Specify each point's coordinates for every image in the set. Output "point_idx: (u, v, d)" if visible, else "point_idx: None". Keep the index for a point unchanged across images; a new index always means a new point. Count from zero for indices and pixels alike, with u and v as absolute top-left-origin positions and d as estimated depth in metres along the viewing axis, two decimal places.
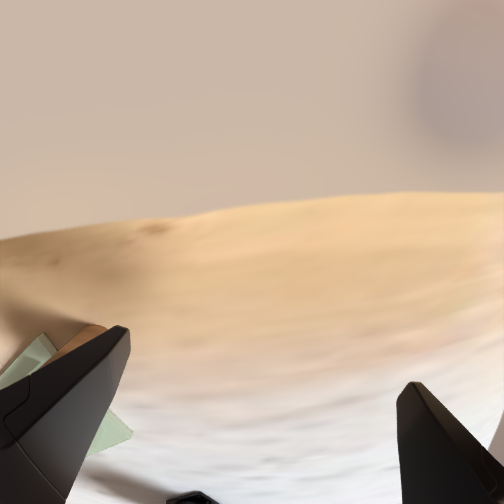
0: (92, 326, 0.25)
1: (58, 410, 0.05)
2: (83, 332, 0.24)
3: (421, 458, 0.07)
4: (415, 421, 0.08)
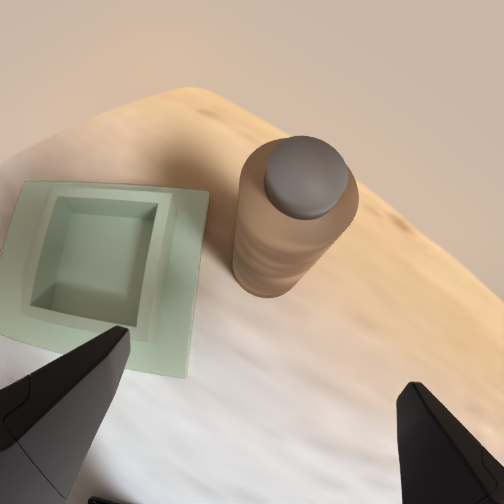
0: None
1: (58, 410, 0.05)
2: None
3: (421, 458, 0.07)
4: (415, 421, 0.08)
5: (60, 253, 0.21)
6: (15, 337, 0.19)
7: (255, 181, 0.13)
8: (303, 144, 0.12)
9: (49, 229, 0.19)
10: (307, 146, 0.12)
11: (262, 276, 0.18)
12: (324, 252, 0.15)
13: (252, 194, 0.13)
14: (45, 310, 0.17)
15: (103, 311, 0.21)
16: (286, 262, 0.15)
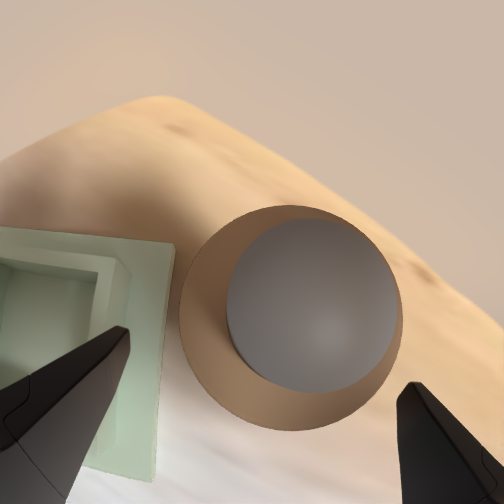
0: None
1: (58, 410, 0.05)
2: None
3: (421, 458, 0.07)
4: (415, 421, 0.08)
5: None
6: None
7: (209, 309, 0.07)
8: (307, 242, 0.06)
9: None
10: (316, 245, 0.06)
11: None
12: None
13: (203, 338, 0.06)
14: None
15: None
16: None
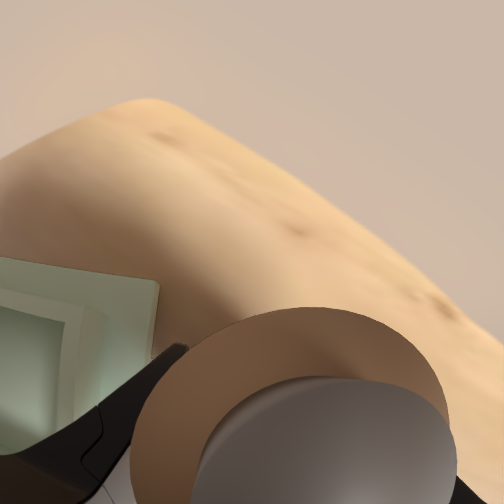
0: None
1: None
2: None
3: None
4: None
5: None
6: None
7: (173, 473, 0.04)
8: (333, 429, 0.03)
9: None
10: (349, 432, 0.03)
11: None
12: None
13: None
14: None
15: (28, 444, 0.11)
16: None
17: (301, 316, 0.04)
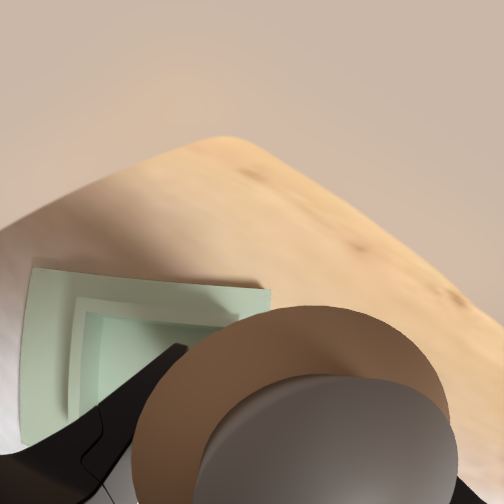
0: None
1: None
2: None
3: None
4: None
5: (97, 369, 0.18)
6: None
7: (175, 471, 0.04)
8: (335, 425, 0.03)
9: (83, 353, 0.16)
10: (351, 429, 0.03)
11: None
12: None
13: None
14: None
15: None
16: None
17: (302, 314, 0.04)
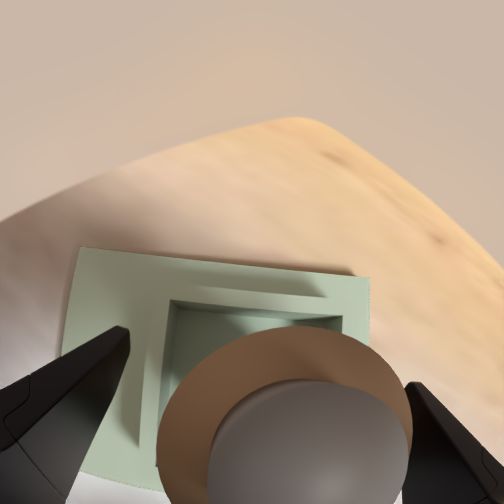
0: None
1: (58, 410, 0.05)
2: None
3: (421, 458, 0.07)
4: (415, 421, 0.08)
5: (170, 372, 0.16)
6: (110, 477, 0.13)
7: (190, 455, 0.05)
8: (309, 417, 0.04)
9: (164, 353, 0.14)
10: (320, 420, 0.04)
11: None
12: None
13: (185, 482, 0.05)
14: None
15: None
16: None
17: (289, 333, 0.06)
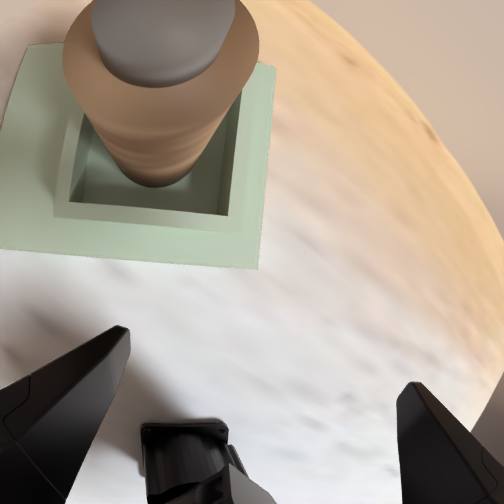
0: None
1: (58, 410, 0.05)
2: None
3: (421, 458, 0.07)
4: (415, 421, 0.08)
5: (92, 128, 0.16)
6: (30, 248, 0.16)
7: (88, 36, 0.06)
8: None
9: None
10: None
11: (130, 166, 0.12)
12: (204, 136, 0.10)
13: (79, 55, 0.06)
14: (95, 205, 0.14)
15: (158, 197, 0.18)
16: (144, 152, 0.09)
17: None
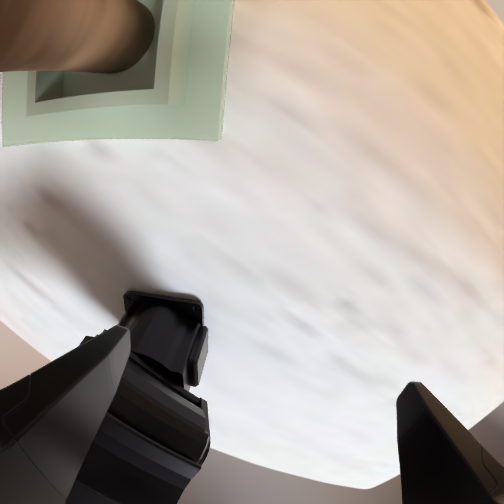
0: None
1: (58, 410, 0.05)
2: None
3: (421, 458, 0.07)
4: (415, 421, 0.08)
5: None
6: (31, 141, 0.18)
7: None
8: None
9: None
10: None
11: None
12: (44, 40, 0.07)
13: None
14: (51, 101, 0.14)
15: (120, 80, 0.16)
16: (11, 69, 0.08)
17: None
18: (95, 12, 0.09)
